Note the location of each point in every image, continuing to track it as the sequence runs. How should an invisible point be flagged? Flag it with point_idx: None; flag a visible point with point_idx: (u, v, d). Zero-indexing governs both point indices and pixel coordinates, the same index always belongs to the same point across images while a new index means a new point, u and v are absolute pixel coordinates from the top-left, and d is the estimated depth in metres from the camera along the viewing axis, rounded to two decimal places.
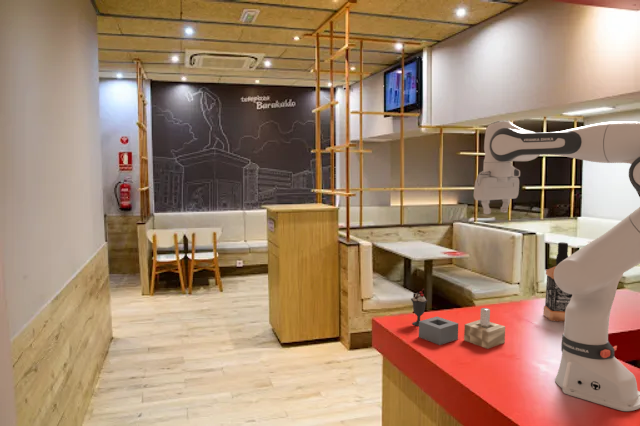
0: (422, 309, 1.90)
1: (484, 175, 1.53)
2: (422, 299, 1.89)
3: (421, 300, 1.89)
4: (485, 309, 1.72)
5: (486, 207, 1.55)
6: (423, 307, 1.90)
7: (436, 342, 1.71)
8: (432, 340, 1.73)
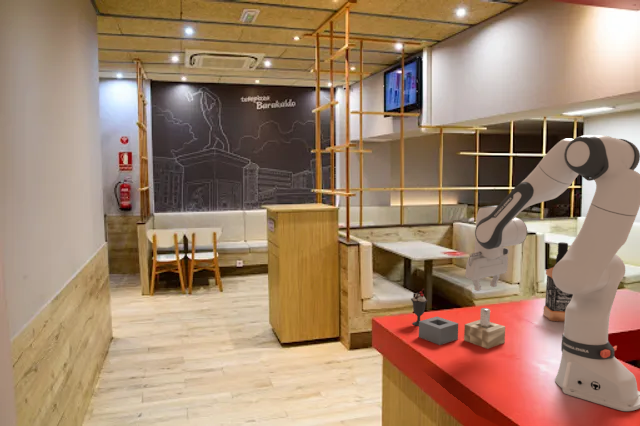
0: (422, 309, 1.90)
1: (475, 256, 1.66)
2: (422, 299, 1.89)
3: (421, 300, 1.89)
4: (485, 309, 1.72)
5: (477, 285, 1.68)
6: (423, 307, 1.90)
7: (436, 342, 1.71)
8: (432, 340, 1.73)
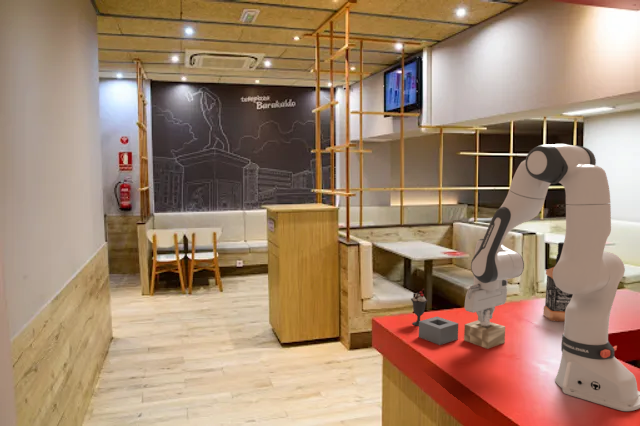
0: (422, 309, 1.90)
1: (474, 289, 1.67)
2: (422, 299, 1.89)
3: (421, 300, 1.89)
4: (485, 309, 1.72)
5: (480, 315, 1.70)
6: (423, 307, 1.90)
7: (436, 342, 1.71)
8: (432, 340, 1.73)
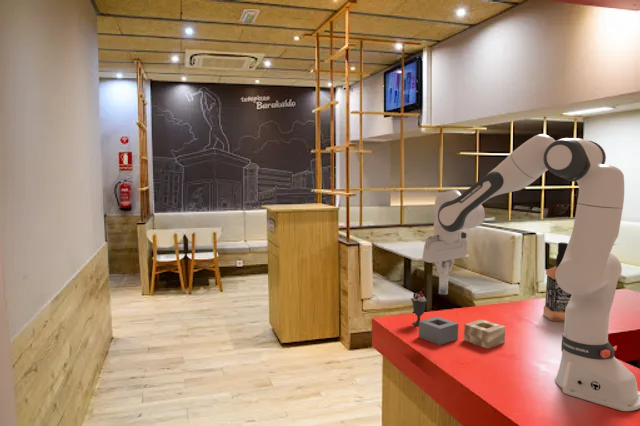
0: (422, 309, 1.90)
1: (432, 239, 1.68)
2: (422, 299, 1.89)
3: (421, 300, 1.89)
4: (444, 261, 1.74)
5: (439, 267, 1.72)
6: (423, 307, 1.90)
7: (436, 342, 1.71)
8: (432, 340, 1.73)
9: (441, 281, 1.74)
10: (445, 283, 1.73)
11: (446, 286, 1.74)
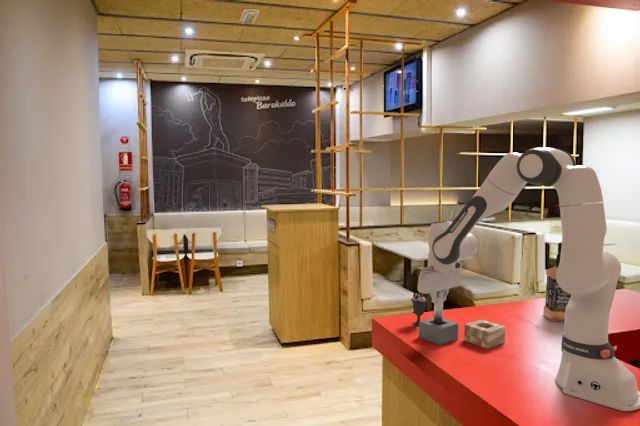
0: (422, 309, 1.90)
1: (427, 270, 1.70)
2: (422, 299, 1.89)
3: (421, 300, 1.89)
4: (439, 291, 1.75)
5: (433, 297, 1.73)
6: (423, 307, 1.90)
7: (436, 342, 1.71)
8: (432, 340, 1.73)
9: (436, 311, 1.75)
10: (440, 313, 1.75)
11: (441, 316, 1.75)
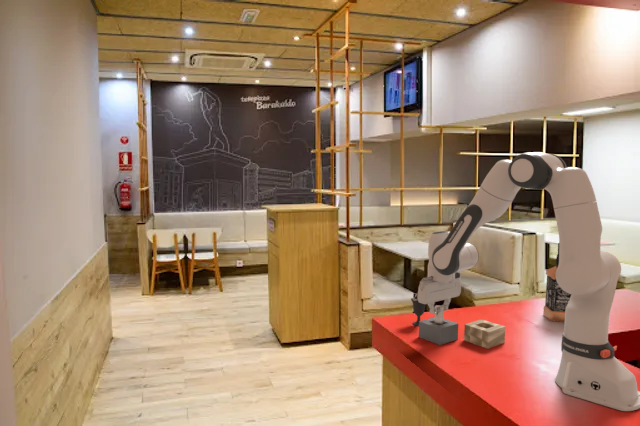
0: (422, 309, 1.90)
1: (426, 281, 1.70)
2: None
3: None
4: (439, 306, 1.76)
5: (431, 308, 1.73)
6: (423, 307, 1.90)
7: (436, 342, 1.71)
8: (432, 340, 1.73)
9: None
10: None
11: None
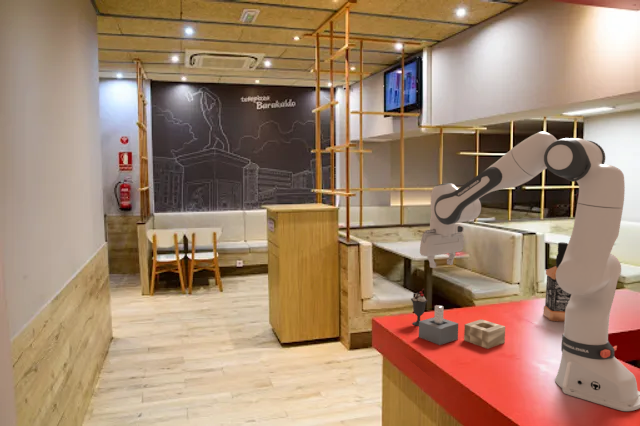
0: (422, 309, 1.90)
1: (429, 233, 1.68)
2: (422, 299, 1.89)
3: (421, 300, 1.89)
4: (439, 306, 1.76)
5: (431, 261, 1.70)
6: (423, 307, 1.90)
7: (436, 342, 1.71)
8: (432, 340, 1.73)
9: None
10: None
11: None
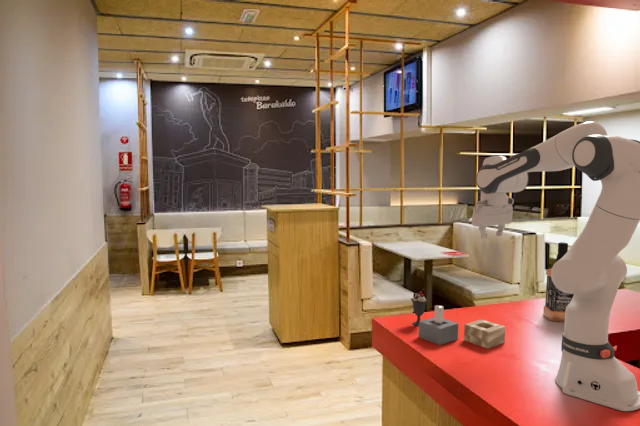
0: (422, 309, 1.90)
1: (481, 204, 1.72)
2: (422, 299, 1.89)
3: (421, 300, 1.89)
4: (439, 306, 1.76)
5: (483, 232, 1.74)
6: (423, 307, 1.90)
7: (436, 342, 1.71)
8: (432, 340, 1.73)
9: None
10: None
11: None
